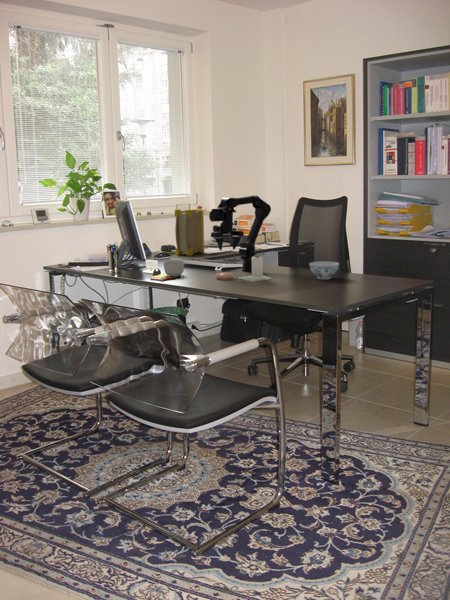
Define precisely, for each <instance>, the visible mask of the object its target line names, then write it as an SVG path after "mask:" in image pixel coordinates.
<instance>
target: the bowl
mask: <svg viewBox="0 0 450 600" xmlns="http://www.w3.org/2000/svg"><path fill="white" fill-rule="evenodd" d="M215 278H217V280H222V281H225V280H231V279H233V278H234V273H233V272H216V274H215Z"/></svg>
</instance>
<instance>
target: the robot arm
mask: <svg viewBox="0 0 450 600" xmlns="http://www.w3.org/2000/svg"><path fill="white" fill-rule="evenodd" d="M247 204H248V205H249V204H252V207H253V209H255V210H254V220H253V223H252V225H251V226H250V230H249V232H248V235H247V238H246V240H245V241H243V242H240V240H241V239H242V238H243V237H245V236H244V233H245V232H244V231H243V230H233V229H234V226H235V223H234V213H237V211H236V210H235V208H236V207H238V206H241V205H242V206H243V205H247ZM271 211H272V206H271V205H270V204H269V203H267V202H266V201H265V200H264V199H262V198H261V197H260V196H259V195H248V196H242V197H222V198H221V200H220V202H219V204H218V205H217V207H216V208H211V210H210V212H209V215H208V217H209V222H210V221H211V222H216V223H217V222H220V225H219V226H218V225H213V227H212V232H211V233H210V237H211V238H212V239H213V240H215V241H216V243H217V247H218V250H219V251H223V246H224V245H223V244H224V238H223V237H229V236H230V237H231V239H232V250H236V247H237V246H238V243H239V242H240V246H239V247H238V253H239V255H240V259H241V260H242V261H243V262H242V269H241V272H248V273H249V272H252V257H255V255H257V253H255V252H256V251H255V250H256V246H255V245H256V244H255V243H256V241H257V238H258V236H259V233H260V231H261V228H262V226H263V223H264V220H266V219H267V218H268V216H270V214H271Z"/></svg>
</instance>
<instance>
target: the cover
mask: <svg viewBox="0 0 450 600" xmlns="http://www.w3.org/2000/svg"><path fill="white" fill-rule="evenodd" d="M263 259H264V258H263V256H261V255H260V254H256V255H255V257H252V271H251V275H248V276H249V279H265V278H266V277H267V275H263V271H264V270H263V267H264V266H263V264H264V263H263V262H264V261H263Z"/></svg>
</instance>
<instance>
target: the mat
mask: <svg viewBox="0 0 450 600" xmlns="http://www.w3.org/2000/svg"><path fill="white" fill-rule="evenodd" d="M249 276H250V275H247V276H239V277H237V279H238V280H242V281H246V282H251V283H252V282H261V281H267V280H268V281H269V280H273V277H269V276H266V278H265V279H249Z"/></svg>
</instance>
